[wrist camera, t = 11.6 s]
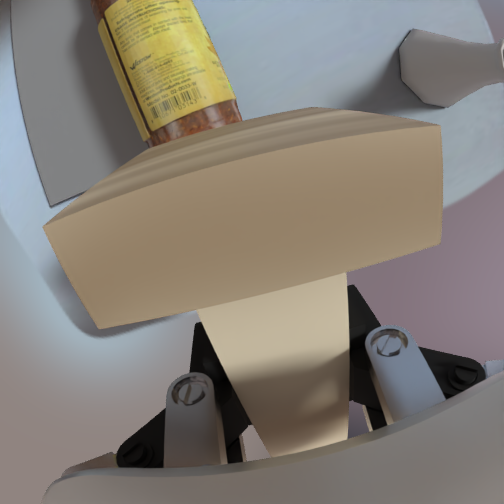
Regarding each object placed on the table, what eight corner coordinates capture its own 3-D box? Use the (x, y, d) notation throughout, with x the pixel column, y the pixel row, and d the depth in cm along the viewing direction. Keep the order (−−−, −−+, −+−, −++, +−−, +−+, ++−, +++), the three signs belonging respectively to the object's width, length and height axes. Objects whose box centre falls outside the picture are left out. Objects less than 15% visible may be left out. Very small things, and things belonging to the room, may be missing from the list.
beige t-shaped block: (147, 149, 10) (42, 226, 4) (311, 107, 10) (440, 125, 3) (243, 392, 16) (254, 500, 10) (342, 367, 16) (380, 469, 10)
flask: (388, 84, 19) (473, 79, 10) (403, 16, 16) (480, -12, 7) (450, 120, 20) (533, 137, 11) (463, 56, 18) (542, 53, 9)
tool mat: (14, -2, 12) (11, -3, 11) (106, -56, 11) (104, -58, 11) (53, 203, 21) (50, 205, 21) (155, 164, 21) (153, 165, 20)
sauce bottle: (266, 121, 17) (173, -91, 9) (195, 152, 14) (100, -98, 5) (199, 142, 22) (126, -45, 13) (134, 174, 18) (61, -40, 9)
